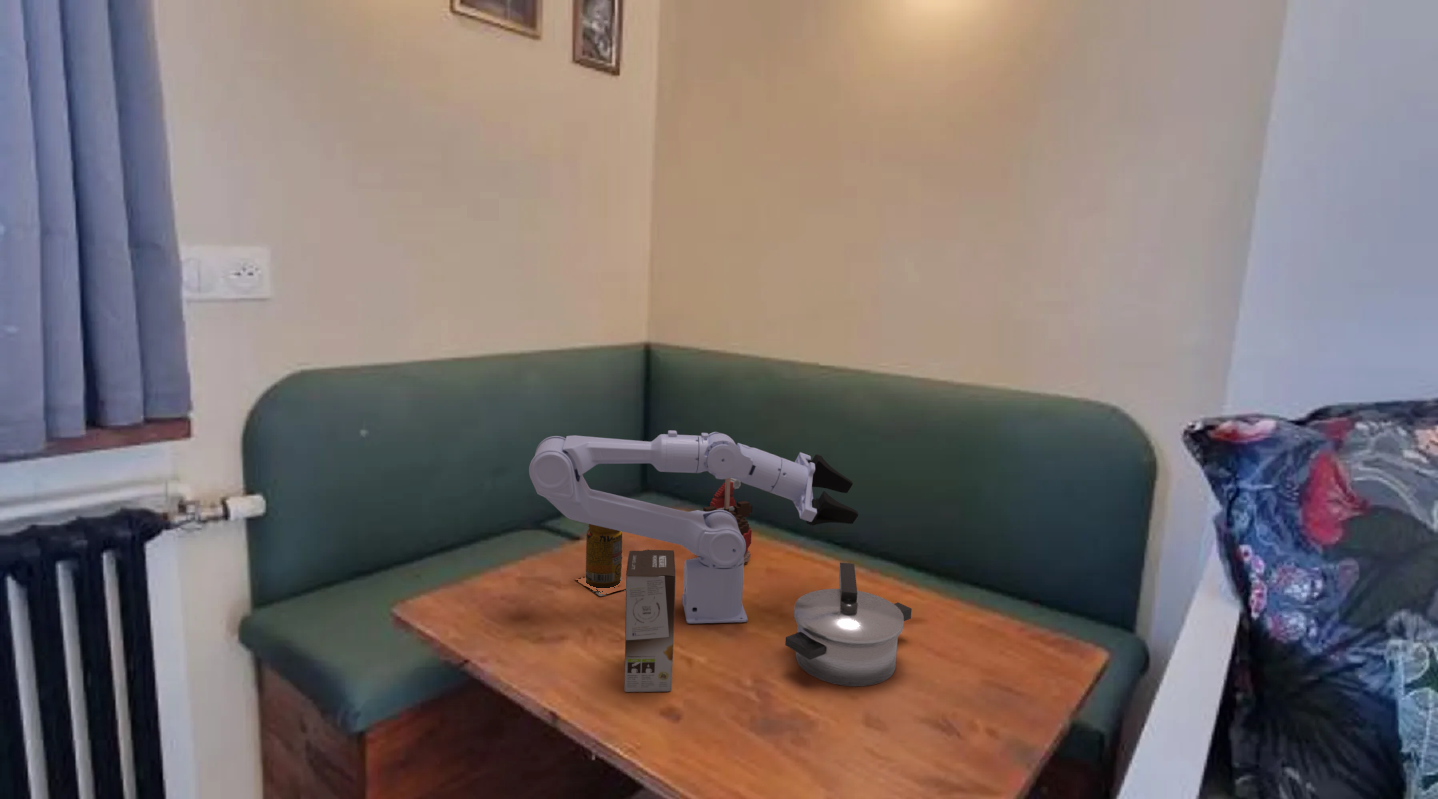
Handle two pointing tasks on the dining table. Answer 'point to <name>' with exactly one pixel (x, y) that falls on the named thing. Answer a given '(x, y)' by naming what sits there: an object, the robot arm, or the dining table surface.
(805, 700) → the dining table surface
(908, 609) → the cooker pot
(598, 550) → the condiment
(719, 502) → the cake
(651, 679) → the coffee box
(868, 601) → the lid
